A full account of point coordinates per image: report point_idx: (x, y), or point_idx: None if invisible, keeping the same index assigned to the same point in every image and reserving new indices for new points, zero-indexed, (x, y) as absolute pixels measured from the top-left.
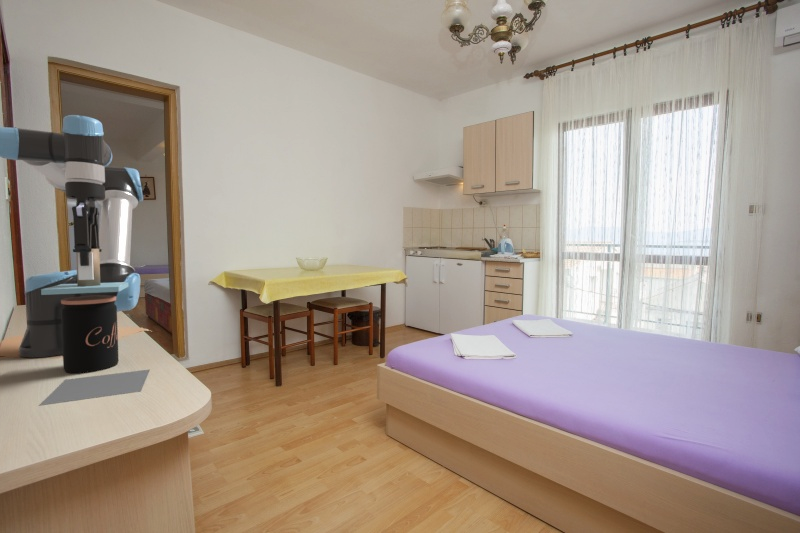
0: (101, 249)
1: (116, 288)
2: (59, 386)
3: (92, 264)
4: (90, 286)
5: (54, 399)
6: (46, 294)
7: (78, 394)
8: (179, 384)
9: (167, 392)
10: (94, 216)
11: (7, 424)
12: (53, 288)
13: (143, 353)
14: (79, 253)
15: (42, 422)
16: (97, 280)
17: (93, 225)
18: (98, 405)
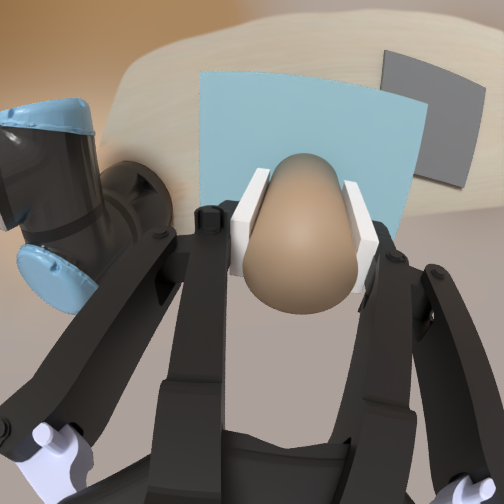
0: (197, 210)
1: (425, 109)
2: None
3: (365, 208)
4: (359, 180)
5: (455, 173)
6: None
7: (454, 150)
8: (467, 37)
9: (489, 61)
10: (222, 486)
11: (480, 207)
12: None
13: (217, 57)
14: (362, 284)
15: (496, 182)
16: (328, 166)
17: (222, 391)
18: (488, 133)
